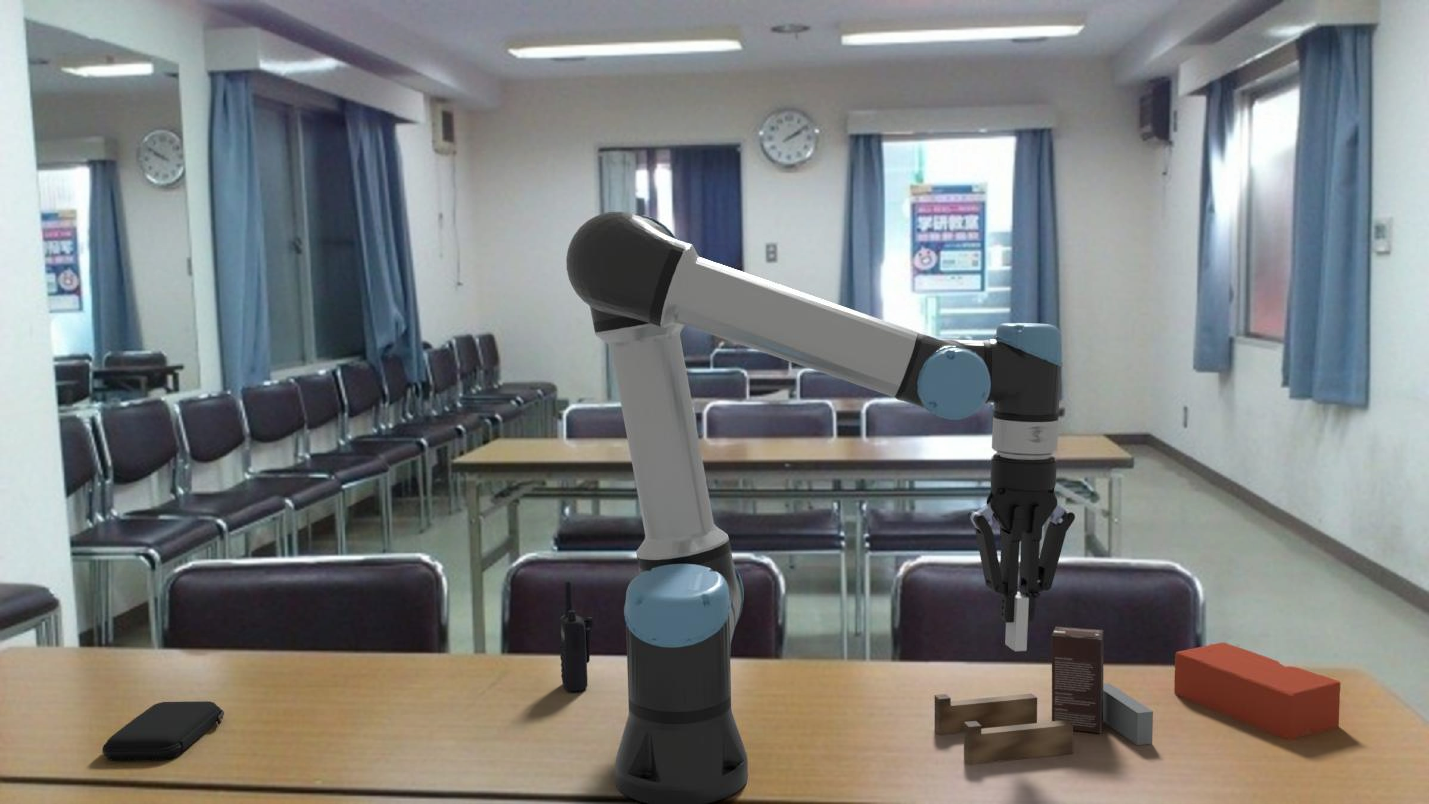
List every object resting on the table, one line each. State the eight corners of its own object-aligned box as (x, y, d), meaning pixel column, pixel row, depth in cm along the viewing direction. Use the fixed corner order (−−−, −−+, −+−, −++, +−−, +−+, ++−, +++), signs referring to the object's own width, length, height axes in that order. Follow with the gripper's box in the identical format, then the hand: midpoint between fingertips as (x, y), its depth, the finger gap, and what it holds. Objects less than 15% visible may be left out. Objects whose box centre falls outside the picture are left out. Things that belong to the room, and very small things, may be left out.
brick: (1172, 695, 158) (1173, 651, 157) (1221, 684, 161) (1222, 641, 161) (1289, 742, 141) (1290, 694, 141) (1340, 729, 145) (1342, 681, 145)
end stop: (1137, 745, 141) (1137, 713, 140) (1094, 714, 150) (1094, 684, 150) (1152, 743, 141) (1152, 711, 141) (1108, 713, 151) (1109, 683, 150)
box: (1103, 721, 148) (1105, 628, 147) (1100, 735, 144) (1102, 639, 143) (1053, 716, 150) (1055, 624, 149) (1049, 728, 146) (1050, 634, 145)
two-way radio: (559, 682, 167) (555, 578, 165) (590, 678, 168) (587, 575, 166) (566, 695, 161) (562, 588, 160) (598, 691, 163) (595, 585, 161)
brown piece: (969, 764, 136) (969, 726, 136) (934, 729, 147) (934, 694, 146) (1072, 753, 139) (1073, 716, 138) (1031, 720, 149) (1031, 685, 149)
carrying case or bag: (183, 765, 141) (236, 719, 156) (182, 741, 141) (234, 696, 156) (96, 766, 142) (156, 719, 156) (94, 742, 141) (154, 697, 156)
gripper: (985, 460, 134) (977, 660, 137) (1090, 458, 137) (1080, 654, 140) (959, 450, 142) (952, 640, 144) (1059, 448, 144) (1051, 635, 147)
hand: (1015, 647), depth 142 cm, fingers closed
